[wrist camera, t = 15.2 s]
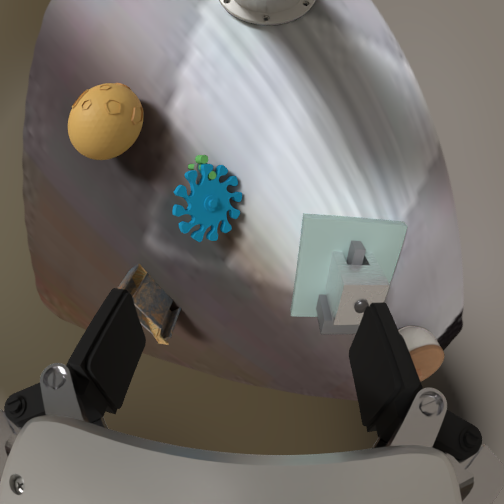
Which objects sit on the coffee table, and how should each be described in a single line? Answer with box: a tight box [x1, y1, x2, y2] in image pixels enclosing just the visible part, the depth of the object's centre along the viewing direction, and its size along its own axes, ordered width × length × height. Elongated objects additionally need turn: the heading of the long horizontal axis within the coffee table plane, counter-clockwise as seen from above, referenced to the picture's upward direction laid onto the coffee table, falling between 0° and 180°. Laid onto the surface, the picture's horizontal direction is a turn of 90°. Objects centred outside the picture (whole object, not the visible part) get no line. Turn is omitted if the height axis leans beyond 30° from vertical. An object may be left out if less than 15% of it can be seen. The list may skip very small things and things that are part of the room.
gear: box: [173, 155, 242, 242], centre depth 35 cm, size 11×6×10 cm
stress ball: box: [68, 83, 143, 160], centre depth 27 cm, size 10×10×10 cm
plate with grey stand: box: [291, 214, 407, 334], centre depth 39 cm, size 18×16×8 cm
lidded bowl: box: [398, 326, 444, 382], centre depth 46 cm, size 13×13×11 cm
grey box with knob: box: [325, 251, 390, 325], centre depth 37 cm, size 7×6×8 cm
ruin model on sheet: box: [118, 264, 181, 345], centre depth 43 cm, size 11×3×10 cm, turn 33°
